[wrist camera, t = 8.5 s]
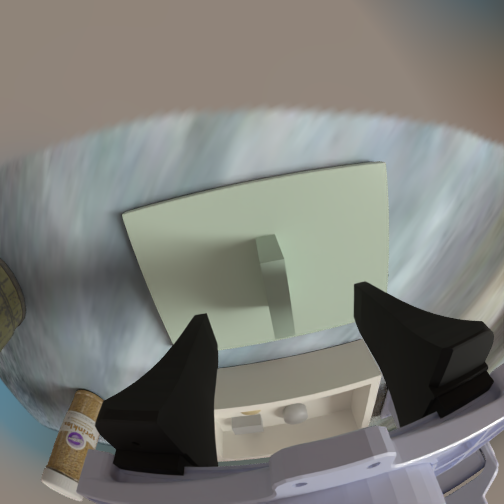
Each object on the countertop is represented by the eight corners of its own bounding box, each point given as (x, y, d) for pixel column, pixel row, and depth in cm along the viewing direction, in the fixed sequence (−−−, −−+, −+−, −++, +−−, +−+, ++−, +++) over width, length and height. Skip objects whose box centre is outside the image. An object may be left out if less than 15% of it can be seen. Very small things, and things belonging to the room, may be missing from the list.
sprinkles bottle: (106, 395, 24) (75, 497, 12) (111, 415, 26) (86, 505, 14) (72, 383, 24) (33, 476, 11) (78, 403, 25) (48, 488, 13)
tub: (362, 338, 22) (381, 374, 18) (354, 404, 27) (365, 434, 23) (185, 372, 23) (179, 411, 19) (218, 429, 27) (217, 461, 23)
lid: (374, 159, 17) (417, 171, 12) (377, 302, 21) (404, 341, 17) (130, 208, 17) (97, 234, 12) (181, 342, 22) (171, 388, 17)
